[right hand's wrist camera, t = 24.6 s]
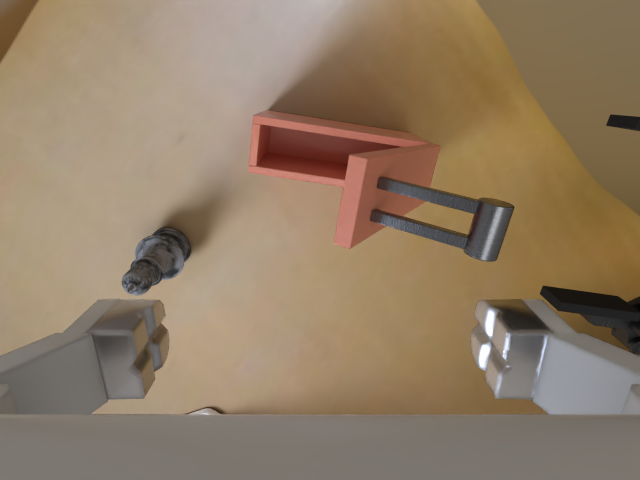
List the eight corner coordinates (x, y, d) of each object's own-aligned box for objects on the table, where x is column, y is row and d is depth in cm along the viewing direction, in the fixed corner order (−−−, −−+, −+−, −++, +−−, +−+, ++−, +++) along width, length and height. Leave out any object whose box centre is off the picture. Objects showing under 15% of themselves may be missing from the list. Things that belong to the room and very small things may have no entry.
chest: (262, 156, 47) (248, 172, 38) (267, 109, 45) (253, 115, 36) (400, 177, 48) (419, 198, 39) (410, 132, 46) (432, 143, 37)
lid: (333, 243, 24) (484, 295, 20) (348, 154, 22) (518, 193, 18) (415, 198, 39) (510, 223, 35) (428, 143, 37) (530, 163, 33)
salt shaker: (154, 218, 50) (107, 255, 39) (199, 237, 51) (164, 279, 40) (141, 257, 52) (92, 303, 41) (184, 274, 53) (147, 324, 41)
